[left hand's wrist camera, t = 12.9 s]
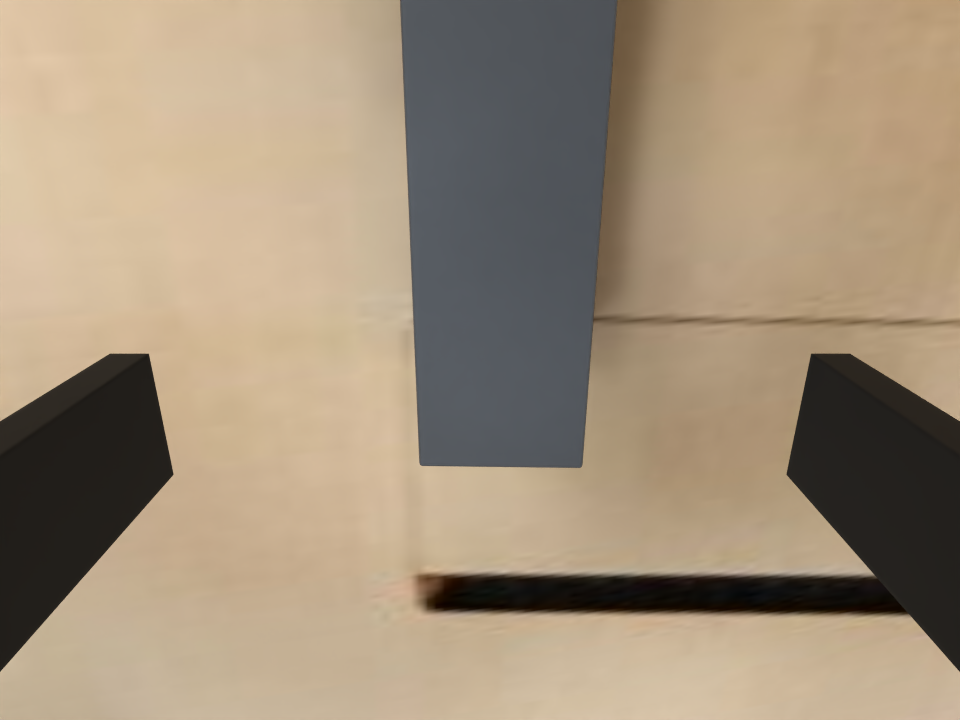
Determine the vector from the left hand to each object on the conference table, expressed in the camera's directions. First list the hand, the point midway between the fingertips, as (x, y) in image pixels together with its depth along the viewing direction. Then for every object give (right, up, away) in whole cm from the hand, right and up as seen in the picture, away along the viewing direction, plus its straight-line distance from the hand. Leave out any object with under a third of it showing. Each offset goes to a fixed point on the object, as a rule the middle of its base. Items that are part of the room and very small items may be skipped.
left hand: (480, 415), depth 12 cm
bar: (+1, +26, +4) cm, 26 cm away
